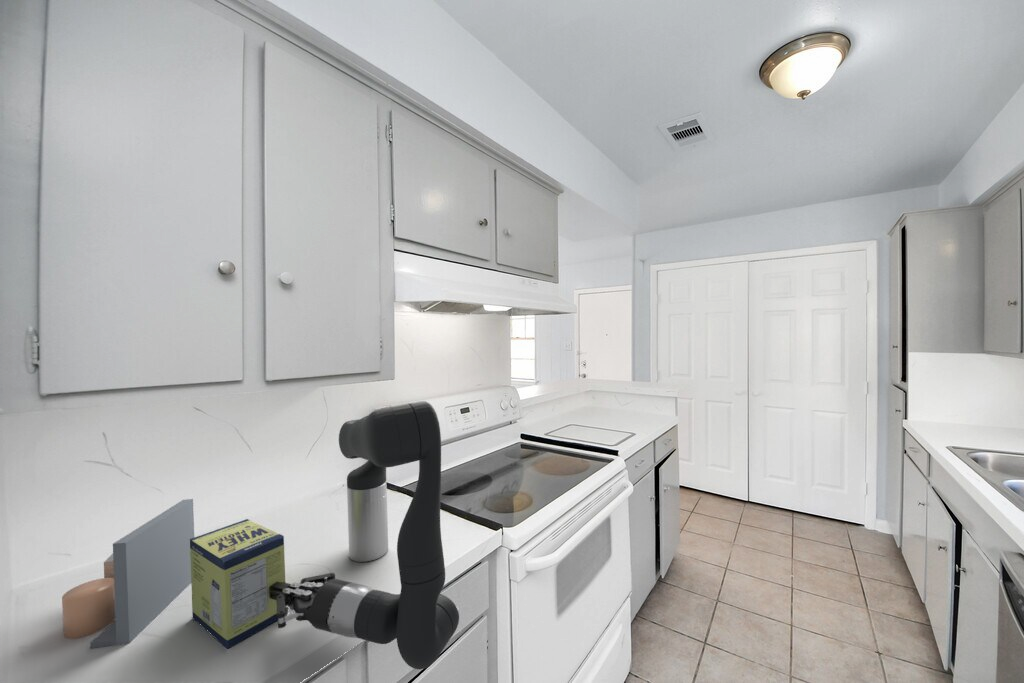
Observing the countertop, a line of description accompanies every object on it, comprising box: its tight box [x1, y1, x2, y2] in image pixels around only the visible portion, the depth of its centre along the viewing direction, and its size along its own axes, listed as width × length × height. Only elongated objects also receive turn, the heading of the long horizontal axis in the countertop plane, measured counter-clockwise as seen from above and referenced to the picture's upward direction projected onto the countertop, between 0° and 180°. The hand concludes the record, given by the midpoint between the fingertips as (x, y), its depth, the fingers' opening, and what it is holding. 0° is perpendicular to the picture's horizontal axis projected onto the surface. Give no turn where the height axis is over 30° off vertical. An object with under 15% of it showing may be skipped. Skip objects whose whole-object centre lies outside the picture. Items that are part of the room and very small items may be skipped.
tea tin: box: [103, 553, 114, 579], centre depth 87 cm, size 5×5×9 cm
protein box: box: [190, 518, 286, 649], centre depth 79 cm, size 10×16×16 cm
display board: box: [89, 498, 195, 649], centre depth 82 cm, size 20×6×18 cm, turn 10°
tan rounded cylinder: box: [61, 577, 116, 640], centre depth 78 cm, size 7×7×7 cm
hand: (272, 589), depth 77 cm, fingers closed
